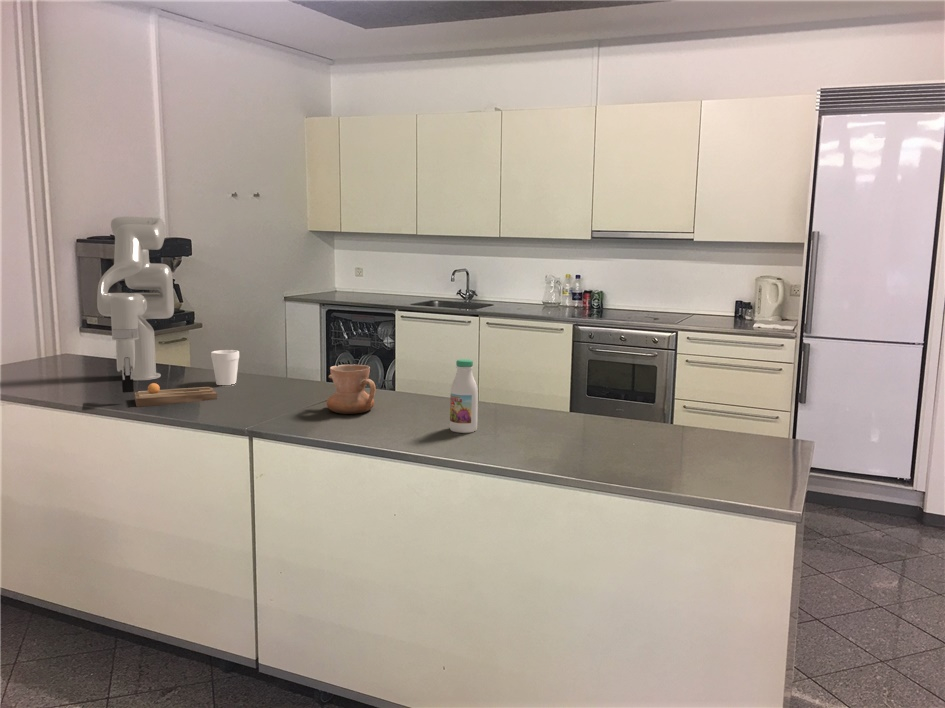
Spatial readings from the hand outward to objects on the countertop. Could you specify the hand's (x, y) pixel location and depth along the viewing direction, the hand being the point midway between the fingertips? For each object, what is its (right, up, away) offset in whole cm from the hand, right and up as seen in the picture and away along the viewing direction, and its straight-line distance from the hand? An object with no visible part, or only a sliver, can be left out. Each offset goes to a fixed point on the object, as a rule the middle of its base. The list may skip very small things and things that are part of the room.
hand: (128, 391), depth 231 cm
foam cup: (+21, 0, +30) cm, 37 cm away
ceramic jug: (+72, -6, -6) cm, 73 cm away
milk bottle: (+107, -10, -26) cm, 111 cm away
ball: (+7, +1, +3) cm, 8 cm away
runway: (+12, -3, +7) cm, 15 cm away
